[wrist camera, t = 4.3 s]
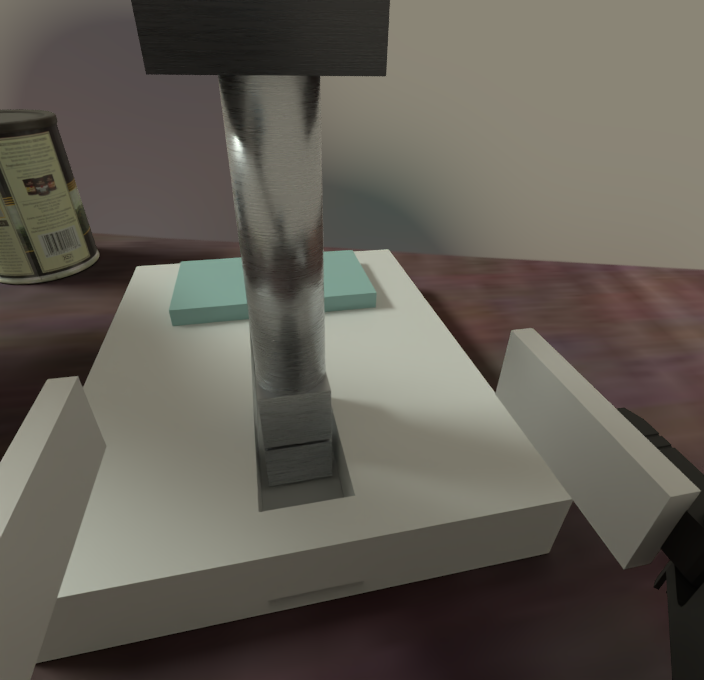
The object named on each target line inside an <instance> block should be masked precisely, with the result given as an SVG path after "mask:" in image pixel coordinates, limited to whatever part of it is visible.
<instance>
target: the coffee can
mask: <svg viewBox="0 0 704 680" xmlns="http://www.w3.org/2000/svg"><path fill="white" fill-rule="evenodd" d="M98 258H99V251H98V250H97V247H96V245H95V241H94V238H93V236H92V232H91V229H90V226H89V223H88V220H87V217H86V214H85V210H84V207H83V205H82V202H81V198H80V195H79V192H78V190H77V186H76V183H75V180H74V177H73V173H72V170H71V167H70V164H69V161H68V157H67V155H66V152H65V148H64V145H63V142H62V139H61V136H60V133H59V130H58V127H57V118H56V115H55V114H54V113H52V112H49V111H42V110H20V109H19V110H0V282H1V283H7V284H32V283H39V282H47V281H52V280H57V279H60V278H64V277H67V276H70V275H73V274H76V273H78V272H80V271H83V270H85V269H87V268H88V267H90V266H91V265H93V264H94V263H95V262H96V261H97V260H98Z"/></svg>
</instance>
